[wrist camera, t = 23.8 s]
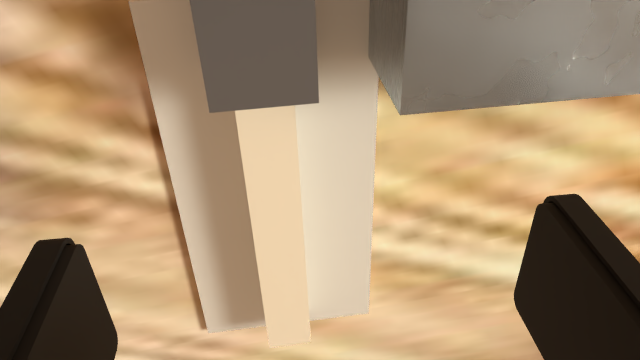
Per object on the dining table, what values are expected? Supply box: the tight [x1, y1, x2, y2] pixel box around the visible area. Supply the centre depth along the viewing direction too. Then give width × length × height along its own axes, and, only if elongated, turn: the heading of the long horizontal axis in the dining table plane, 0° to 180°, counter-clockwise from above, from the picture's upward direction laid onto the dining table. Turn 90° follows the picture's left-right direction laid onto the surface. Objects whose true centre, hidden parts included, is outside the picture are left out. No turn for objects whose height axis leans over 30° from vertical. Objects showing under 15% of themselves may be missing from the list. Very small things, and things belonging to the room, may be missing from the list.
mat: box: [129, 0, 379, 333], centre depth 26 cm, size 20×10×1 cm, turn 2°
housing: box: [368, 0, 640, 115], centre depth 20 cm, size 4×11×6 cm, turn 92°
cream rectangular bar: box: [189, 0, 319, 348], centre depth 24 cm, size 20×4×4 cm, turn 2°
